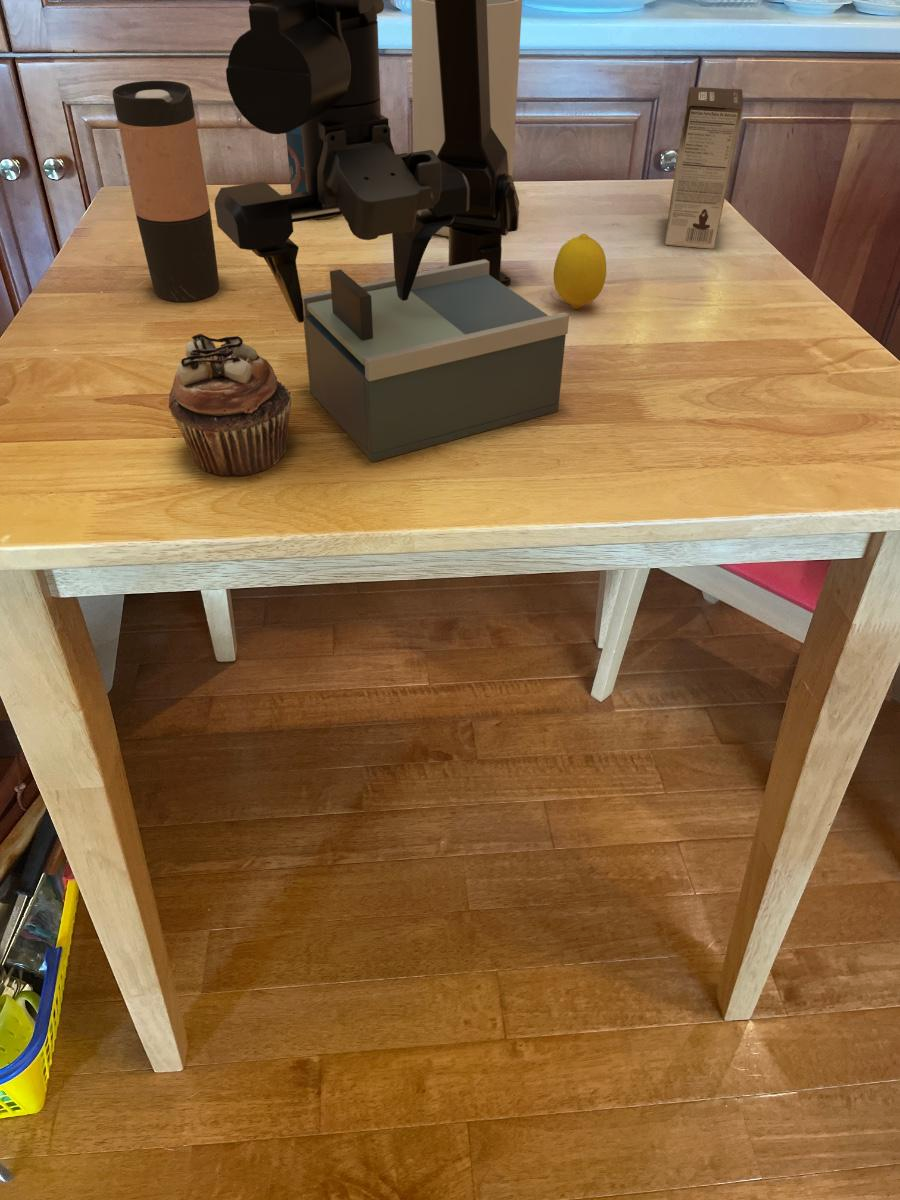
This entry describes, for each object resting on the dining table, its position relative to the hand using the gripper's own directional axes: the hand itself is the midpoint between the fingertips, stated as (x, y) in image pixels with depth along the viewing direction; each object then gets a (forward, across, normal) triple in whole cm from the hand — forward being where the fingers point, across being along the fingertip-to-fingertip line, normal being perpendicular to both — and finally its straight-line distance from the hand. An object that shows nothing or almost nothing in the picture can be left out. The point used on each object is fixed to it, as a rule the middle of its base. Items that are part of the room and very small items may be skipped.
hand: (352, 309), depth 75 cm
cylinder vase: (+11, +33, +40) cm, 53 cm away
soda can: (+11, +18, +52) cm, 56 cm away
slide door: (+2, +3, 0) cm, 3 cm away
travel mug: (+10, -5, +35) cm, 37 cm away
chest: (+10, +7, 0) cm, 13 cm away
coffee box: (+11, +57, +23) cm, 62 cm away
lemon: (+10, +31, +11) cm, 34 cm away
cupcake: (+10, -11, 0) cm, 15 cm away
